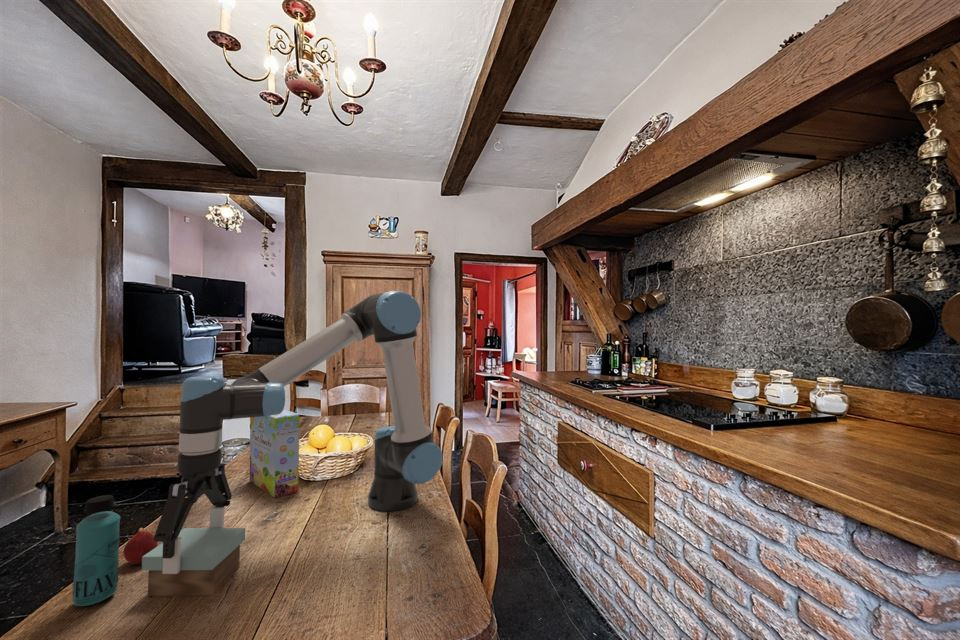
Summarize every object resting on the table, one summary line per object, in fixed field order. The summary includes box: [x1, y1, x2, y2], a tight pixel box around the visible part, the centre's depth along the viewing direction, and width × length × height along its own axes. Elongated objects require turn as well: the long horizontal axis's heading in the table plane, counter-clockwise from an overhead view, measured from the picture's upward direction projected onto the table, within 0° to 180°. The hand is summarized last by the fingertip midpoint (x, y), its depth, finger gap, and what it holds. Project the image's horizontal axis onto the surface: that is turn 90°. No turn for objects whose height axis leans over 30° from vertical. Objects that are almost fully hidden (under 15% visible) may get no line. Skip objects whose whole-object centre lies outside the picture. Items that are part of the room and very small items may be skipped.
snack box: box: [249, 409, 301, 499], centre depth 137 cm, size 22×9×26 cm, turn 49°
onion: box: [123, 527, 158, 565], centre depth 90 cm, size 6×6×8 cm
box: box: [147, 544, 241, 597], centre depth 84 cm, size 12×9×6 cm
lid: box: [141, 527, 246, 571], centre depth 84 cm, size 13×12×4 cm
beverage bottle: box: [71, 494, 121, 607], centre depth 77 cm, size 6×7×20 cm
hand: (195, 553), depth 83 cm, fingers open, 13 cm apart
